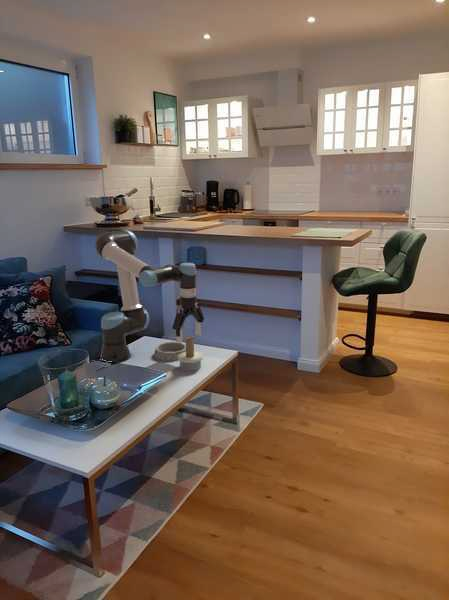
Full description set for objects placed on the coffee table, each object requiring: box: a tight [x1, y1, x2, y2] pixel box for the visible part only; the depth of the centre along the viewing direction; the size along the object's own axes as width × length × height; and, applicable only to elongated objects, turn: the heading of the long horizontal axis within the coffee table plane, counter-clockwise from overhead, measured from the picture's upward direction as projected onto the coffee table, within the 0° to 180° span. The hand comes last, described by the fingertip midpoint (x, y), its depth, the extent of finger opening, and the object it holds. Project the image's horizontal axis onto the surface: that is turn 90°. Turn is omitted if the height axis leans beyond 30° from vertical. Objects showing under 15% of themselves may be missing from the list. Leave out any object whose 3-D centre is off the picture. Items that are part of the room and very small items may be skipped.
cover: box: [177, 336, 204, 363], centre depth 232 cm, size 12×12×10 cm
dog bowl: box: [153, 341, 186, 362], centre depth 251 cm, size 17×18×5 cm
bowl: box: [179, 360, 202, 372], centre depth 234 cm, size 10×10×6 cm
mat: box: [145, 360, 179, 374], centre depth 234 cm, size 13×13×1 cm
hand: (189, 338), depth 231 cm, fingers open, 13 cm apart
